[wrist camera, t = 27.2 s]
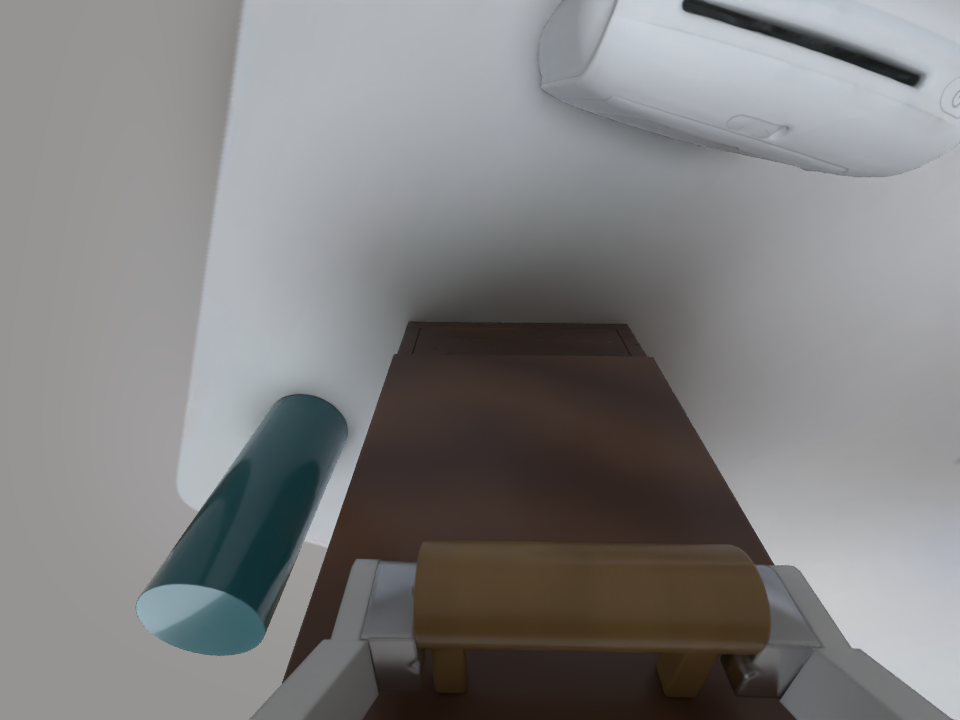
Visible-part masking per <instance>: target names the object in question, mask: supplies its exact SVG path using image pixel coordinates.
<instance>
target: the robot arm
mask: <svg viewBox="0 0 960 720" xmlns="http://www.w3.org/2000/svg"><path fill="white" fill-rule="evenodd" d="M416 565H417V561H411V560H381V559H356V560H355V562H354V564H353V566H352V568H351V571H350V575H349V578H348V582H347V585H346V588H345V592H344V595H343V599H342V602H341V606H340V609H339V612H338V616H337V619H336V623H335V626H334V630H333V633H332V636H331V639H326V640H322V641H321V642H320V644H319V645H318V646H317V647H316V648H315V649H314V650H313V651H312V652H311V653H310V654H309V655H308V657H307V658H306V659H305V660H304V661H303V662H302V663H301V664H300V665H299V666H298V667H297V668H296V669H295V671H294V672H293V673H292V674H291V675H290V676H289V677H288V678H287V679H286V680H285V681H284V682H283V684H282V685H281V686H280V687H279V688H278V689H277V690H276V691H275V692H274V693H273V694H272V696H271V697H270V698H269V699H268V700H267V701H266V702H265V703H264V704H263V705H262V706H261V707H260V709H259V710H258V711H257V712H256V713H255V714H254V715H253V716H252V717H251V718H250V719H249V720H362V719H363V718H364V716H365V715H366V713H367V712H368V710H369V709H370V707H371V706H372V704H373V702H374V701H375V699H376V698H377V696H378V695H379V693H378V691H421V690H422V682H423V673H424V665H425V656H426V653H425V649H421V648H418V647H417V646H416V644H415V640H414V636H413V595H414V582H415V573H416ZM755 566H756V568H757V570H758V572H759V574H760V576H761V578H762V581H763V583H764V586H765V589H766V592H767V596H768V600H769V605H770V612H771V634H770V639H769V642H768V644H767V646H766V648H765V649H764V650H763V651H761V652H760V653H758V654H755V655H738V654H721V658H720V661H721V663H722V666H723V668H724V670H725V673H726V675H727V677H728V680H729V682H730V685H731V687H732V689H733V692H734V694H735V696H736V697H756V698H777V699H781V700H780V702H781V703H782V704H783V706H784V707H785V708H786V709H787V710H788V711H789V712H790V713H791V714H792V715H793V716H794V717H795V719H796V720H953V719H951V718H950V717H949V716H947V715H946V714H945V713H943V712H942V711H941V710H939V709H938V708H937V707H935V706H934V705H933V704H932V703H930V702H929V701H928V700H926V699H925V698H924V697H922V696H921V695H920V694H918V693H917V692H916V691H915V690H913V689H912V688H911V687H909V686H908V685H907V684H905V683H904V682H903V681H901V680H900V679H899V678H897V677H896V676H895V675H894V674H892V673H891V672H890V671H888V670H887V669H886V668H884V667H883V666H882V665H880V664H879V663H878V662H876V661H875V660H874V659H873V658H871V657H870V656H869V655H867V654H866V653H865V652H863V651H862V650H861V649H854V648H851V646H850V645H849V643H848V642H847V640H846V639H845V637H844V636H843V634H842V633H841V631H840V630H839V628H838V627H837V625H836V624H835V622H834V621H833V619H832V618H831V616H830V615H829V613H828V612H827V610H826V609H825V607H824V606H823V604H822V603H821V601H820V600H819V598H818V597H817V595H816V594H815V593H814V591H813V590H812V588H811V587H810V585H809V584H808V582H807V581H806V579H805V578H804V576H803V575H802V573H801V572H800V571H799V570H798V569H797V568H795V567H794V566H789V565H767V566H766V565H755Z"/></svg>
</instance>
